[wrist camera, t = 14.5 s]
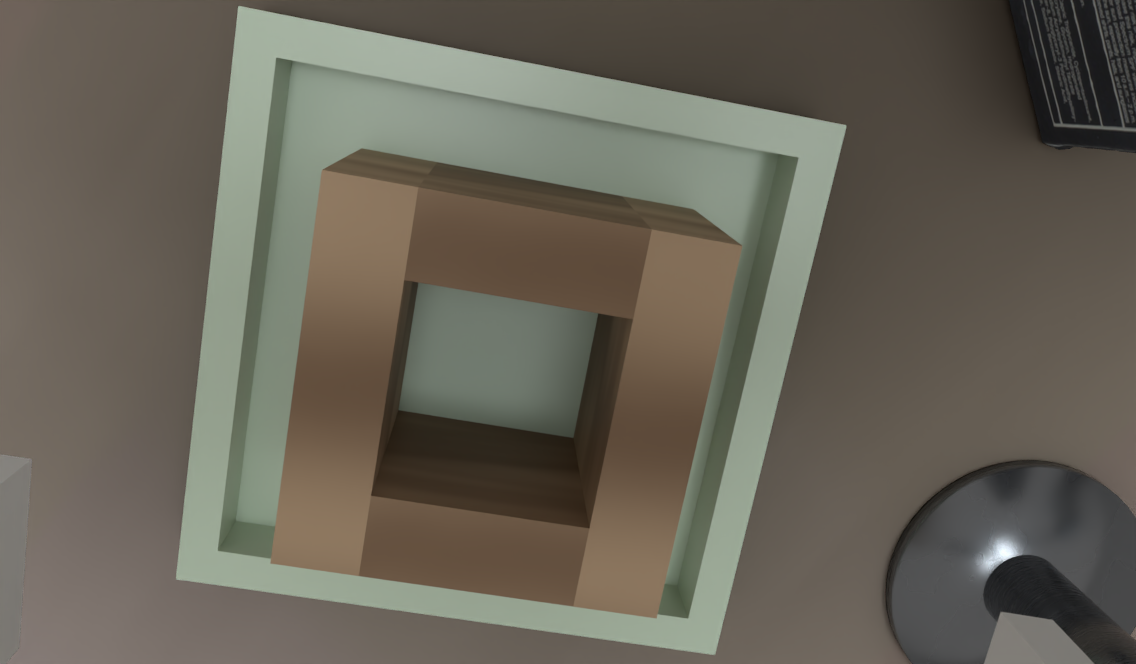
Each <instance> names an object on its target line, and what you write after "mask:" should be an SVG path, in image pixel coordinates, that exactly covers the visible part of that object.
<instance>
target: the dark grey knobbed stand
mask: <svg viewBox="0 0 1136 664" xmlns="http://www.w3.org/2000/svg"><path fill="white" fill-rule="evenodd" d="M886 603H887V612H888V616H889V621H890V624H891V627H892V630H893V632H894V635H895V637H896V639H897V641H898V642H899V644H900V646H901V648H902V649H903V651H904V652H905V654H906V655H907V657H908V658H909V660H910V661H911V662H912V664H984V662H985V659H986V656H987V653H988V650H989V647H990V643H991V640H992V637H993V634H994V631H995V628H996V625H997V622H998V619H999V616H1000V612H1006V613H1012V614H1019V615H1025V616H1032V617H1038V618H1044V619H1051V620H1053V621H1054V622H1055V623H1056V624H1057V625H1058V626H1059V627H1060V628H1061V629H1062V630H1063V631H1064V632H1065V633H1066V634H1067V635H1068V636H1069V637H1070V639H1071V640H1072V641H1073V642H1074V643H1075V644H1076V645H1077V646H1078V647H1079V648H1080V649H1081V650H1082V651H1083V652H1084V653H1085V654H1086V655H1087V656H1088V658H1089V659H1090V660H1091V661H1092V662H1093V663H1094V664H1136V640H1135V639H1134V638H1132V637H1131V636H1130V635H1131V633H1132V632H1133V630H1134V628H1135V627H1136V518H1135V516H1134V515H1133V513H1132V512H1131V510H1130V509H1129V508H1128V507H1127V505H1126V504H1125V503H1124V502H1123V501H1122V500H1121V499H1120V498H1119V497H1118V496H1117V495H1116V494H1114V493H1113V492H1112V491H1110V490H1109V489H1108V488H1107V487H1105V486H1104V485H1102V484H1101V483H1099V482H1098V481H1097V480H1095V479H1093V478H1092V477H1090V476H1088V475H1086V474H1085V473H1083V472H1081V471H1078V470H1076V469H1073V468H1071V467H1068V466H1065V465H1061V464H1056V463H1052V462H1044V461H1014V462H1008V463H1001V464H997V465H994V466H990V467H986V468H983V469H981V470H978V471H976V472H973V473H971V474H968V475H966V476H964V477H963V478H961V479H959V480H957V481H955V482H954V483H952V484H950V485H949V486H948V487H946V488H945V489H943V490H942V491H941V492H939V493H938V494H937V495H935V496H934V497H933V498H932V499H931V500H930V501H929V502H928V503H927V504H925V505H924V506H923V508H922V509H921V510H920V511H919V512H918V513H917V514H916V516H915V517H914V518H913V519H912V521H911V522H910V524H909V525H908V527H907V528H906V530H905V531H904V532H903V534H902V536H901V538H900V540H899V542H898V544H897V546H896V548H895V551H894V554H893V557H892V559H891V562H890V567H889V571H888V576H887V585H886Z"/></svg>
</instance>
